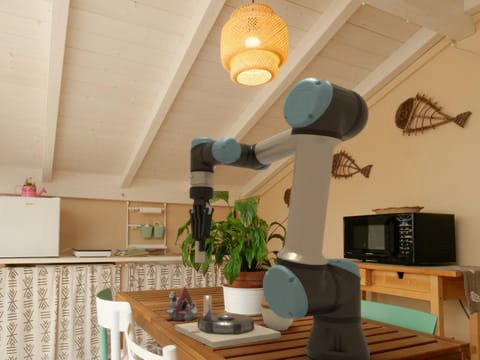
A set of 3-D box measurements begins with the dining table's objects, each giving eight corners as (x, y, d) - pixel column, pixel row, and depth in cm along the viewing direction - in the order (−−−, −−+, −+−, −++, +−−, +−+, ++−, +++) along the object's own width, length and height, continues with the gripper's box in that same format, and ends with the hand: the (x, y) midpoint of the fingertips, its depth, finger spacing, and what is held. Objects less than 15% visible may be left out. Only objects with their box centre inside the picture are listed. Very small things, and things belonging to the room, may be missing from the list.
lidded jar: (297, 326, 133) (297, 296, 135) (292, 333, 123) (292, 301, 125) (265, 323, 136) (265, 294, 138) (257, 330, 126) (257, 299, 127)
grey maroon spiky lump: (194, 316, 136) (175, 285, 139) (170, 334, 137) (152, 303, 141) (208, 310, 146) (190, 281, 150) (185, 327, 148) (168, 299, 152)
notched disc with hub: (238, 320, 133) (239, 290, 134) (263, 331, 118) (263, 297, 119) (191, 323, 126) (192, 292, 127) (210, 336, 111) (211, 300, 112)
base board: (280, 337, 118) (280, 331, 118) (213, 348, 106) (213, 341, 106) (235, 322, 138) (235, 317, 138) (174, 329, 126) (174, 324, 126)
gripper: (182, 187, 134) (180, 261, 131) (200, 183, 123) (198, 263, 120) (202, 189, 138) (201, 261, 135) (222, 185, 127) (220, 263, 124)
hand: (199, 262), depth 127 cm, fingers closed
